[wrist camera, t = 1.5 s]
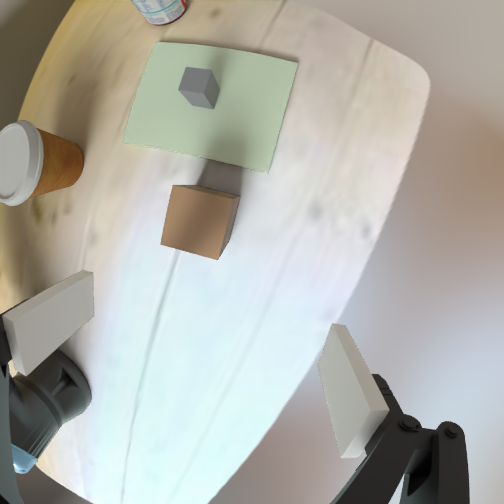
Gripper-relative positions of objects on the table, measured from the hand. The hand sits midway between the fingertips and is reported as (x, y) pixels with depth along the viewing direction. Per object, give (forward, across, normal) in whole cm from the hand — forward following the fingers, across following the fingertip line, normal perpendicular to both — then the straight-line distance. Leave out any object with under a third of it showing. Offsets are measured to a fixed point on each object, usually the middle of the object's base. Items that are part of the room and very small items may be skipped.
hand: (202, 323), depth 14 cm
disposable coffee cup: (+20, -25, +7) cm, 33 cm away
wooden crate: (+20, -4, +3) cm, 20 cm away
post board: (+20, -7, +16) cm, 27 cm away
